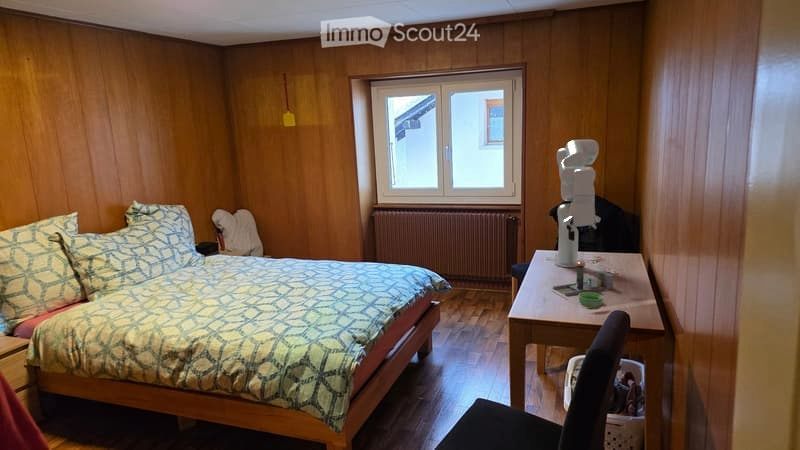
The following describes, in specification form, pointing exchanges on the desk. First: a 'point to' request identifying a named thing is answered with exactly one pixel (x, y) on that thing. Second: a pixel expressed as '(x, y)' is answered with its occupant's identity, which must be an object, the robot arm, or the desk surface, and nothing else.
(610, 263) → the desk surface
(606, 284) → the press frame
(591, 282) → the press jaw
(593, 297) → the ramekin
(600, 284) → the beige rounded dome
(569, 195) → the robot arm
